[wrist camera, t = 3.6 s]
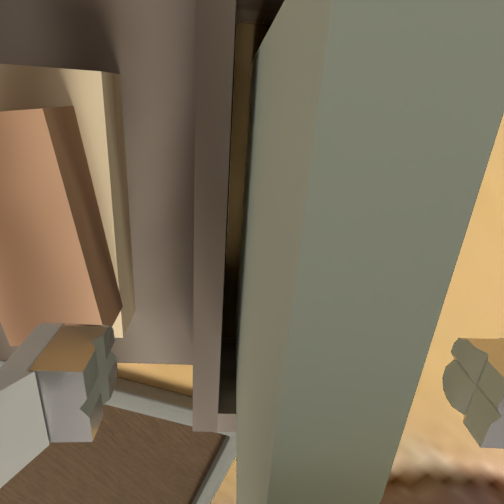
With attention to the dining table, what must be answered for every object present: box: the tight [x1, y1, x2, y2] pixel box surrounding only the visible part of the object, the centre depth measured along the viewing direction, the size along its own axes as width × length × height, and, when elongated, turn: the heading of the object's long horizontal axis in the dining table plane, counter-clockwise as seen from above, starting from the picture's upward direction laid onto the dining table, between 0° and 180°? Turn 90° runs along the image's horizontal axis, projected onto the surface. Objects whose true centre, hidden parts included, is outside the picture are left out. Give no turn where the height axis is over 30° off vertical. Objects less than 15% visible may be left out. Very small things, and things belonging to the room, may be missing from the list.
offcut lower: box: [0, 64, 136, 338], centre depth 17 cm, size 5×12×2 cm, turn 176°
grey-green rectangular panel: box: [236, 0, 504, 504], centre depth 13 cm, size 2×14×16 cm, turn 176°
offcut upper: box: [0, 106, 123, 346], centre depth 15 cm, size 4×9×2 cm, turn 4°
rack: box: [0, 0, 285, 432], centre depth 17 cm, size 18×19×6 cm
